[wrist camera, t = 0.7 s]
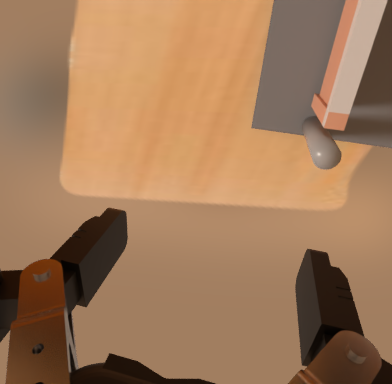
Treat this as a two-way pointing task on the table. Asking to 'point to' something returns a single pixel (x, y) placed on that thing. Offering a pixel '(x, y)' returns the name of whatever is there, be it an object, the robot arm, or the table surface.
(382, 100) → the gate frame
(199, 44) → the table surface
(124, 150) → the table surface
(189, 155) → the table surface
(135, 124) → the table surface
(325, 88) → the gate
